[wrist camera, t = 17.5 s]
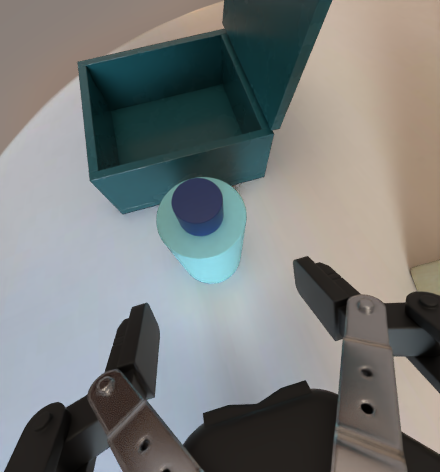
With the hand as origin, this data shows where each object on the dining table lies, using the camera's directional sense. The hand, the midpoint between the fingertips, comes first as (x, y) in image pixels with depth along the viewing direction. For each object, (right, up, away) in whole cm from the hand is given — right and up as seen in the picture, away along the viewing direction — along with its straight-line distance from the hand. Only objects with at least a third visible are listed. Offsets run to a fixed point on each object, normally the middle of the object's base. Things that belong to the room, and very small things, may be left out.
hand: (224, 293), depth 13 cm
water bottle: (-1, +1, +10) cm, 11 cm away
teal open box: (-5, +14, +15) cm, 21 cm away
